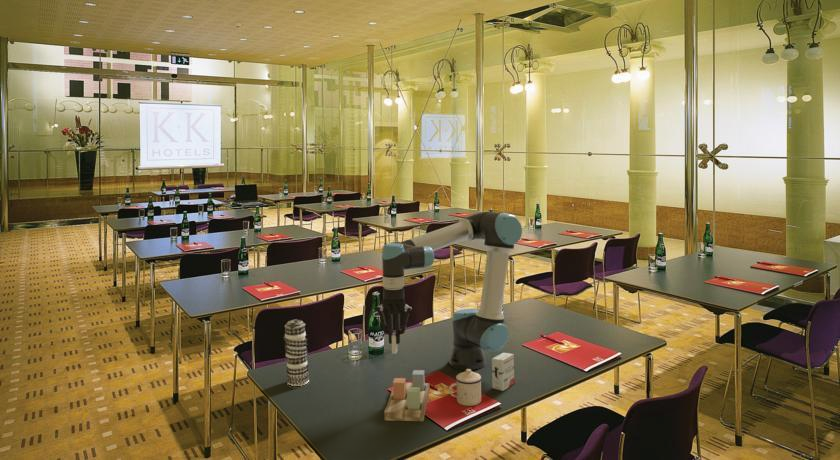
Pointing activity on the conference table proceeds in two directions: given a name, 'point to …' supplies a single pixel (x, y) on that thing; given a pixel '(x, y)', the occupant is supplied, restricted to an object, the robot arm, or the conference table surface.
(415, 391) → the block sage
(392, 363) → the conference table surface
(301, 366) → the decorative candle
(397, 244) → the robot arm
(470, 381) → the teacup with lid
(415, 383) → the block slate
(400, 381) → the block terracotta
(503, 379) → the ink box
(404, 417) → the block board
